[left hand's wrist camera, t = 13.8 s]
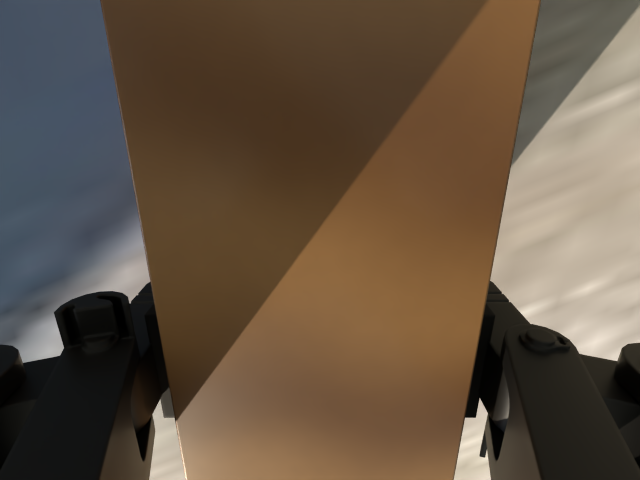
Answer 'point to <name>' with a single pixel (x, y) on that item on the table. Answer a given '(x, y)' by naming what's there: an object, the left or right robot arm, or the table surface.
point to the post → (320, 220)
